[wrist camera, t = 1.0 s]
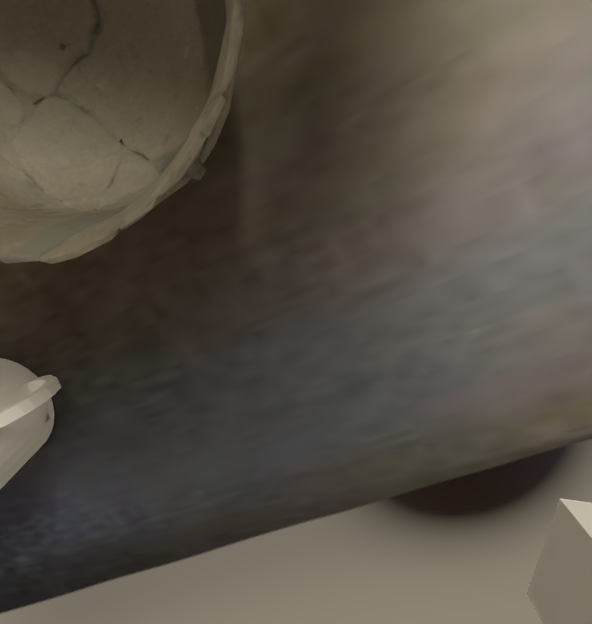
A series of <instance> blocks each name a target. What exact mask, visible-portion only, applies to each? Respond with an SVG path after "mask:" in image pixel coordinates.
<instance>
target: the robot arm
mask: <svg viewBox="0 0 592 624" xmlns="http://www.w3.org/2000/svg"><path fill="white" fill-rule="evenodd" d="M527 594H528V596H529V598H530V600H531V602H532V603H533V605H534V607H535V609H536V611H537V613H538V614H539V616H540V618H541V620H542V622H543V624H592V503H589V502H582V501H574V500H567V499H561V498H560V499H559V501H558V505H557V507H556V510H555V513H554V516H553V519H552V522H551V525H550V528H549V531H548V534H547V537H546V540H545V542H544V545H543V548H542V551H541V555H540V557H539V560H538V563H537V566H536V569H535V572H534V575H533V578H532V581H531V583H530V586H529V589H528V592H527Z"/></svg>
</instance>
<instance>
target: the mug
mask: <svg viewBox="0 0 592 624" xmlns="http://www.w3.org/2000/svg"><path fill="white" fill-rule="evenodd" d="M59 389H61V385H60V383H59V381H58V379H57V377H55V376H54V377H53V376H52V375H46V376H42V377H37V376H36V375H35V374H34V373H33V372H31V371H30V370H29V369H28V368H26V367H24V366H22V365H20V364H19V363H16V362H13V361H11V360H8V359H3V358H0V489H1V488H2V487H3V486H4V485H5V484H6V483H7V482H8V481H9V480H10V479H11V478H12V477H13V476H14V475H15V474H16V473H17V472H18V470H19V469H20V468H21V467H22V466H23V465H24V464H25V463H26V462H27V461H28V460H29V459H30V458H31V457H32V456H33V455H34V454H35V453H36V452H37V451H38V450H39V448H40V447H41V446H42V445H43V444H44V443H45V442H46V441H47V439H48V437H49V436H50V434H51V432H52V428H53V425H54V408H53V402H52V399H51V397H52V396H54V395H55V394H56V393H57V391H58V390H59Z"/></svg>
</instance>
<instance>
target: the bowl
mask: <svg viewBox="0 0 592 624" xmlns="http://www.w3.org/2000/svg"><path fill="white" fill-rule="evenodd" d="M244 15H245V0H0V262H3V263H5V264H8V263H19V262H31V261H42V262H46V263H50V264H53V263H57V262H61V261H65V260H69V259H73V258H77V257H79V256H81V255H83V254H85V253H87V252H89V251H91V250H93V249H95V248H97V247H99V246H101V245H103V244H105V243H107V242H109V241H111V240H112V239H113V238H114V237H115V236H116V235H117V234H118V233H119V232H120V231H121V230H126V229H127V228H128V227H130V226H131V225H133V224H134V223H136V222H137V221H138V220H140V219H141V218H143V217H144V216H145V215H146V214H147V213H148V212H149V211H151V210H152V209H153V208H154V207H155V206H156V205H158V204H159V203H161V202H162V201H163V200H165V199H166V198H167V197H169V196H170V195H172V194H173V193H174V192H176V191H177V190H178V189H180V188H181V187H183V186H184V185H185V184H187V182H188V181H189V180H190V179H195V180H201V178H202V177H203V175H204V173H205V172H206V170H207V169H206V168H205V166H204V165H203V163H204V162H205V160H206V159H207V157H208V156H209V154H210V152H211V151H212V149H213V148H214V146H215V144H216V142H217V139H218V137H219V135H220V132H221V130H222V128H223V125H224V123H225V120H226V118H227V116H228V113H229V111H230V107H231V101H232V96H233V91H234V86H235V80H236V75H237V67H238V59H239V54H240V50H241V45H242V40H243V29H244Z"/></svg>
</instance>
